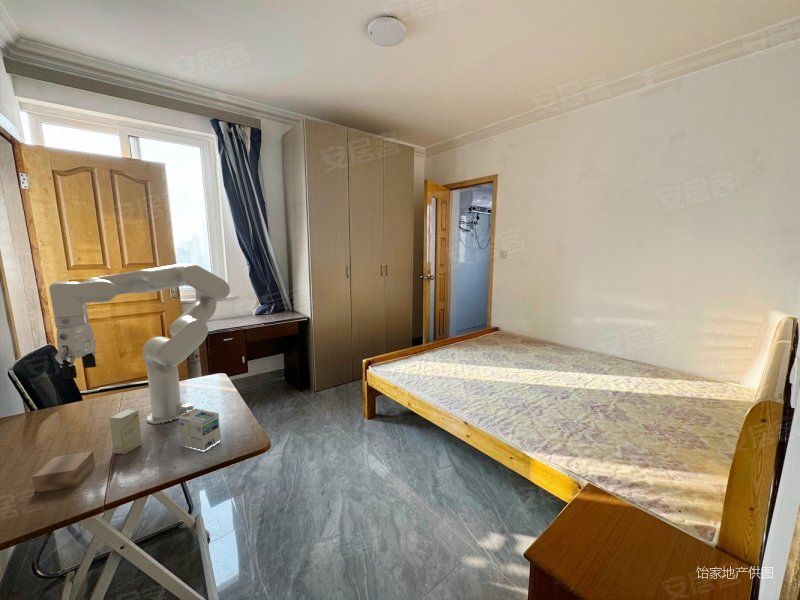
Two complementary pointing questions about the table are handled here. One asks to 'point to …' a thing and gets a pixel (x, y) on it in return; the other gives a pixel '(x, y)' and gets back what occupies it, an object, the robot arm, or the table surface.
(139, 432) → the skincare box
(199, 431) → the light bulb box
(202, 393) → the table surface
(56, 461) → the tan flat block
